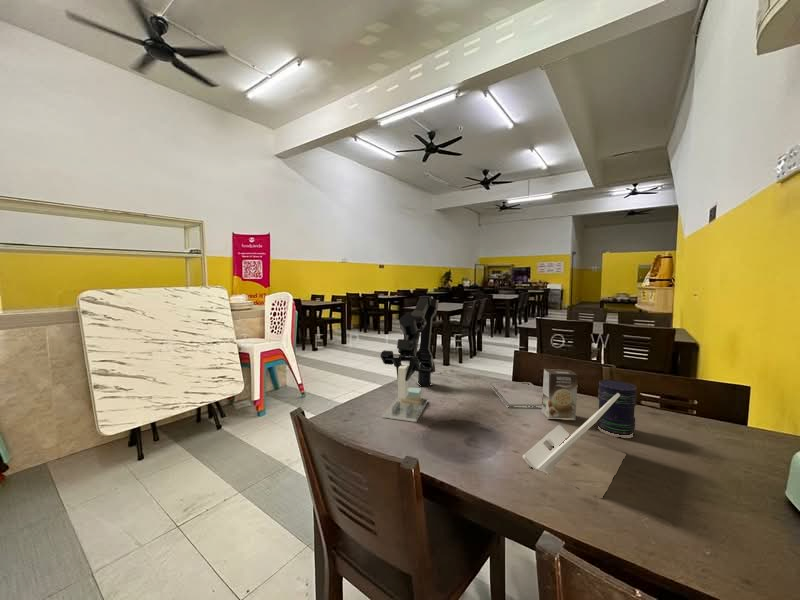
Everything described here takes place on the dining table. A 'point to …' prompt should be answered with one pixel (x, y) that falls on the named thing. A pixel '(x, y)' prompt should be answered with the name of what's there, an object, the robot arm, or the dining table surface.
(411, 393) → the offcut top
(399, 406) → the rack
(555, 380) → the cookie box
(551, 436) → the tablet stand
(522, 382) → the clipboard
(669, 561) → the dining table surface
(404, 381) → the cream rectangular block
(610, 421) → the storage jar
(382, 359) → the robot arm
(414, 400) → the block
